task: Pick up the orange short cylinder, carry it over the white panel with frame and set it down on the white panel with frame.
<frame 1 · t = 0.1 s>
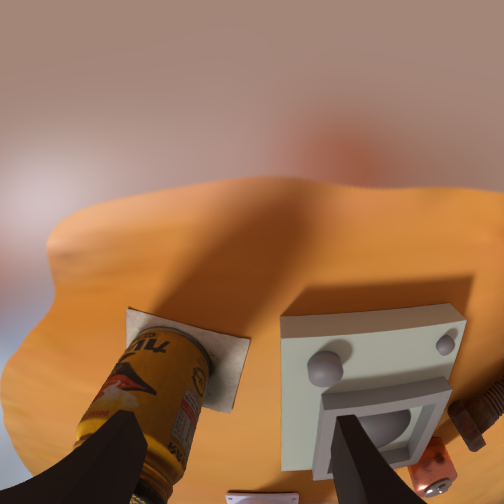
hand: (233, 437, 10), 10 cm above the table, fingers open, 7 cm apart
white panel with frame: (360, 390, 21), on the table
orange short cylinder: (423, 450, 24), on the table
yellow metal cylinder: (182, 363, 21), on the table
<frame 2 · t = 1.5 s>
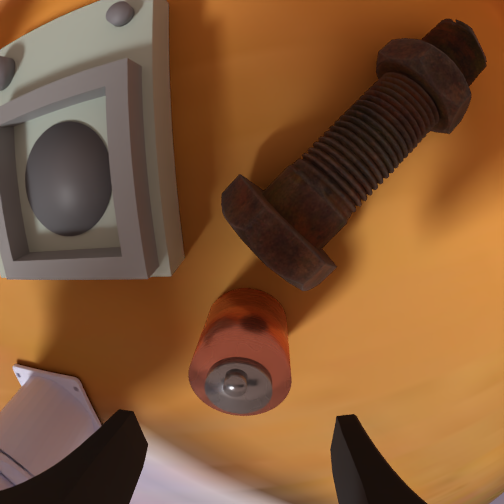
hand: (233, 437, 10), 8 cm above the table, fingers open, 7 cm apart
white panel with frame: (73, 142, 15), on the table
bolt: (369, 130, 14), on the table
orange short cylinder: (247, 323, 17), on the table
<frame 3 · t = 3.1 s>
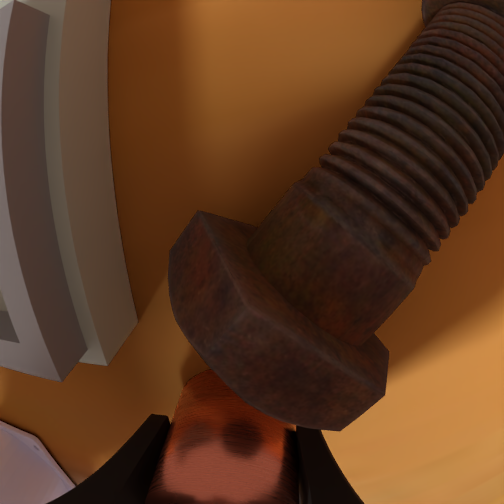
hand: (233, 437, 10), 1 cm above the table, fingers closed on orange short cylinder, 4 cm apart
bolt: (419, 107, 8), on the table
orange short cylinder: (236, 409, 11), on the table, touching gripper
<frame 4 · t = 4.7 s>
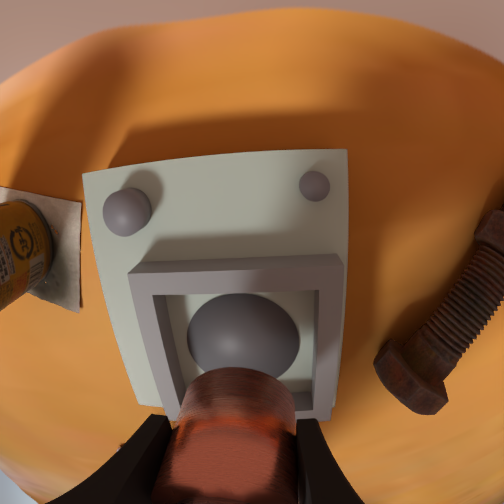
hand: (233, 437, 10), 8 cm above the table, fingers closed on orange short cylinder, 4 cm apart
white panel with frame: (224, 287, 17), on the table
bolt: (462, 273, 17), on the table
orange short cylinder: (239, 407, 11), point 7 cm above the table, touching gripper
yellow metal cylinder: (34, 245, 17), on the table
when the fingers open (5 cm above the table, at t = 6.2 s): orange short cylinder stays where it is, resting on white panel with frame.
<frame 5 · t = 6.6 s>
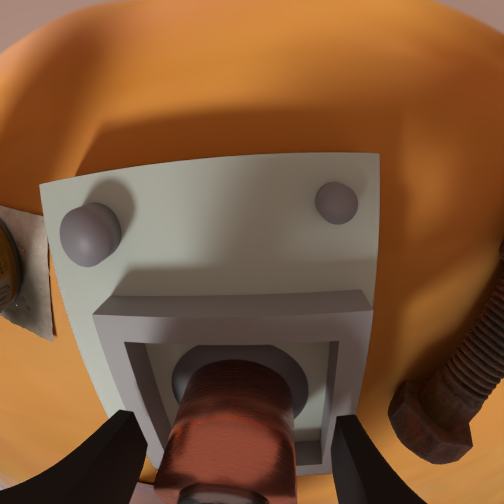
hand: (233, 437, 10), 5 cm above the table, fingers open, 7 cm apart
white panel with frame: (218, 321, 14), on the table
bolt: (486, 296, 13), on the table
orange short cylinder: (238, 400, 12), point 3 cm above the table, touching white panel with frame
yellow metal cylinder: (2, 263, 14), on the table
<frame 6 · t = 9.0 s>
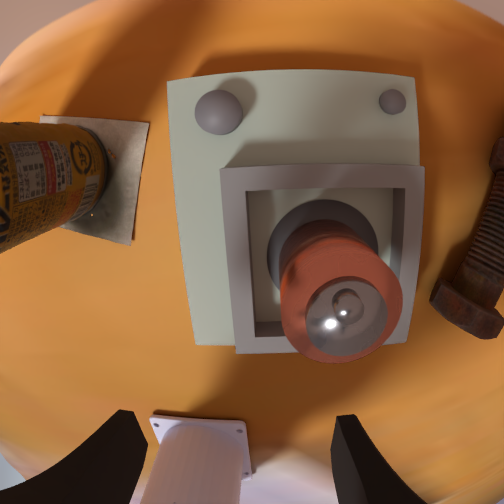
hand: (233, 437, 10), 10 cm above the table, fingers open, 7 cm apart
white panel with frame: (298, 207, 17), on the table
bolt: (487, 203, 16), on the table
orange short cylinder: (323, 263, 15), point 3 cm above the table, touching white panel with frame
yellow metal cylinder: (82, 174, 17), on the table
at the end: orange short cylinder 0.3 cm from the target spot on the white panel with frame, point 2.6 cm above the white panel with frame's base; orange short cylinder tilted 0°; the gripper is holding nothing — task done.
